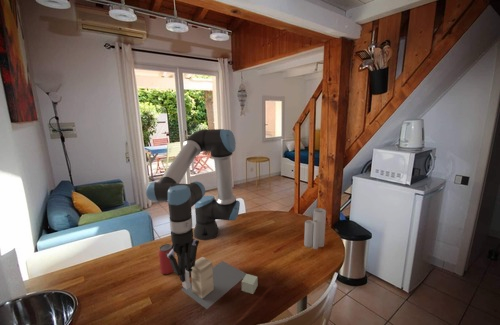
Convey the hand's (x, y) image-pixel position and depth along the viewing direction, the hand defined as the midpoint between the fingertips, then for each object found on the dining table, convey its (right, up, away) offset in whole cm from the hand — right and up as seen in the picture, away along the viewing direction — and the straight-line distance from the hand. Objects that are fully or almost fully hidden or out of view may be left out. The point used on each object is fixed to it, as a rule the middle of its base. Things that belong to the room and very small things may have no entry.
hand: (186, 286), depth 86 cm
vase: (+60, +1, +41) cm, 73 cm away
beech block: (+5, -6, +7) cm, 10 cm away
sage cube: (+24, -6, +9) cm, 26 cm away
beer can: (-15, -4, +21) cm, 26 cm away
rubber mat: (+9, -5, +13) cm, 17 cm away
